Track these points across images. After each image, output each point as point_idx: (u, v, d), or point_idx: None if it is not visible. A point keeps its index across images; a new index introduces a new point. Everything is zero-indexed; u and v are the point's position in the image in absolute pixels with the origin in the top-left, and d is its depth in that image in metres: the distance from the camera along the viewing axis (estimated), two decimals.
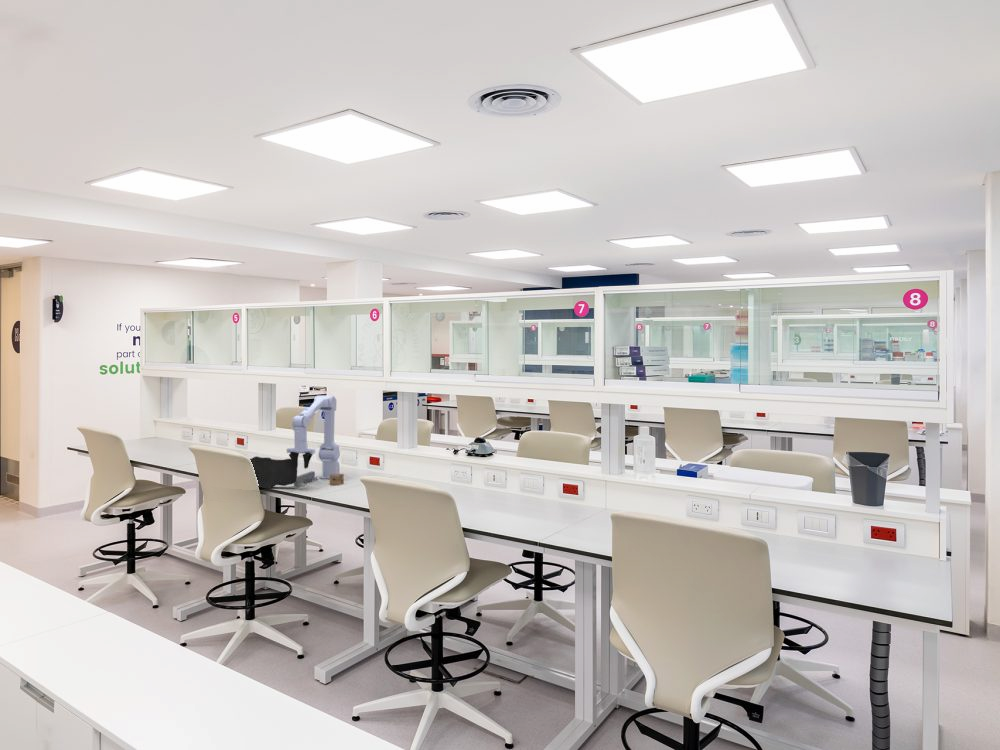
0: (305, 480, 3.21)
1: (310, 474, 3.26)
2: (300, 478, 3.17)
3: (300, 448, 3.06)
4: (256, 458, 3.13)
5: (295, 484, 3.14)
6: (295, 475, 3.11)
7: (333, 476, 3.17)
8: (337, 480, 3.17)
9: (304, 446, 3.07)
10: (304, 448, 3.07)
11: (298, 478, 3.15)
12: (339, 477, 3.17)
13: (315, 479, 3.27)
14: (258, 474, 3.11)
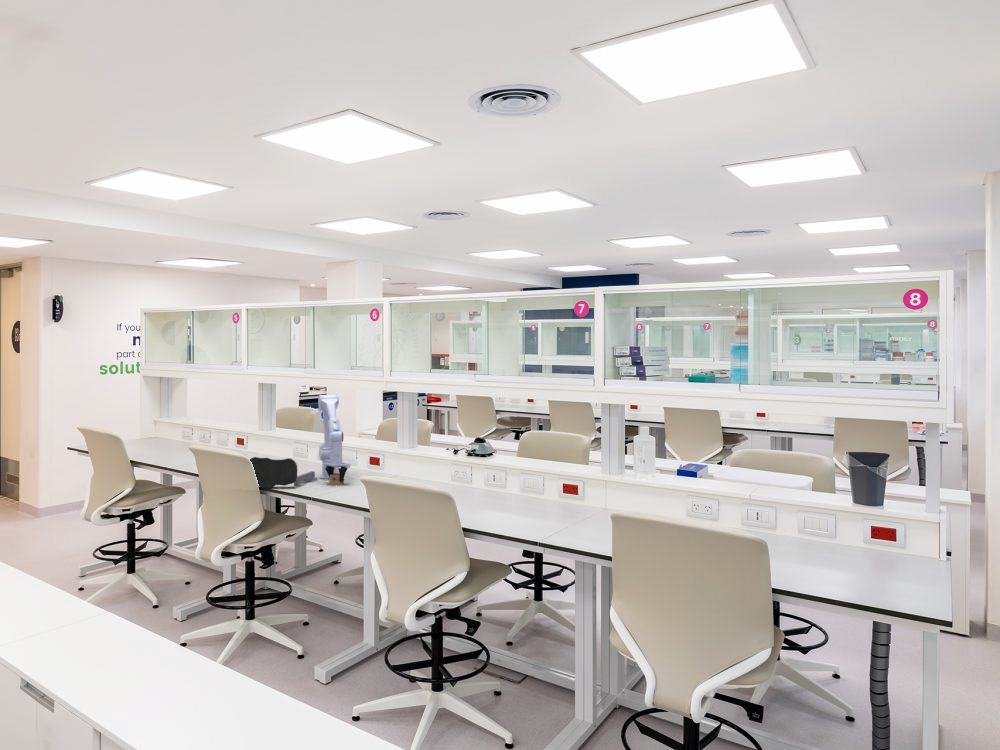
0: (305, 480, 3.21)
1: (310, 474, 3.26)
2: (300, 478, 3.17)
3: (336, 462, 3.17)
4: (255, 458, 3.12)
5: (295, 484, 3.14)
6: (295, 474, 3.12)
7: (333, 476, 3.17)
8: (337, 480, 3.17)
9: (340, 460, 3.18)
10: (340, 462, 3.18)
11: (298, 478, 3.15)
12: (339, 477, 3.17)
13: (315, 479, 3.27)
14: (257, 474, 3.10)
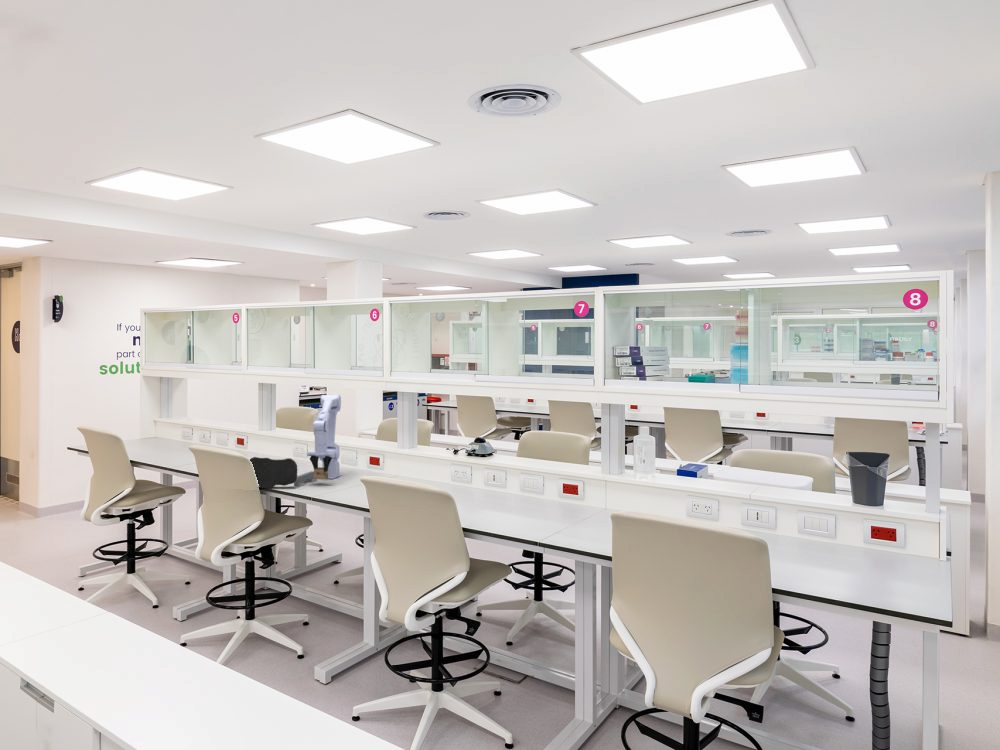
0: (305, 480, 3.21)
1: (310, 474, 3.26)
2: (300, 478, 3.17)
3: (320, 452, 3.15)
4: (255, 458, 3.12)
5: (295, 484, 3.14)
6: (295, 474, 3.12)
7: (317, 470, 3.16)
8: (321, 474, 3.15)
9: (324, 450, 3.16)
10: (324, 452, 3.16)
11: (298, 478, 3.15)
12: (323, 471, 3.16)
13: (315, 479, 3.27)
14: (257, 475, 3.10)
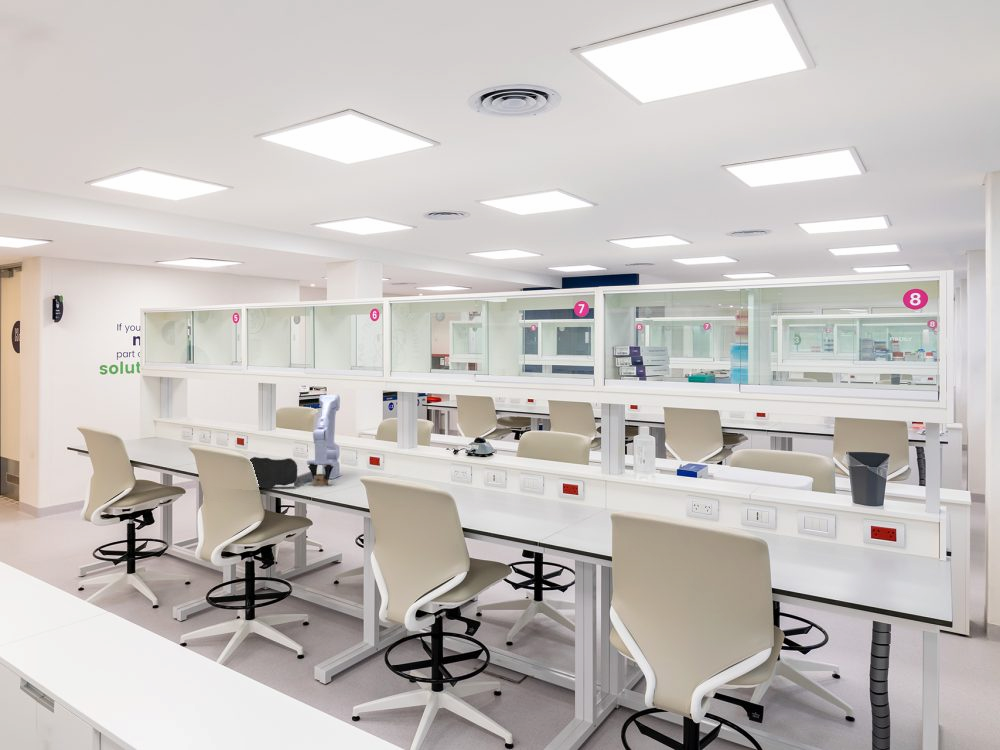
0: (305, 480, 3.21)
1: (310, 474, 3.26)
2: (300, 478, 3.17)
3: (320, 460, 3.15)
4: (255, 458, 3.12)
5: (295, 484, 3.14)
6: (295, 474, 3.12)
7: (317, 477, 3.16)
8: (321, 481, 3.15)
9: (324, 458, 3.17)
10: (324, 460, 3.17)
11: (298, 478, 3.15)
12: (323, 478, 3.16)
13: None
14: (257, 475, 3.10)
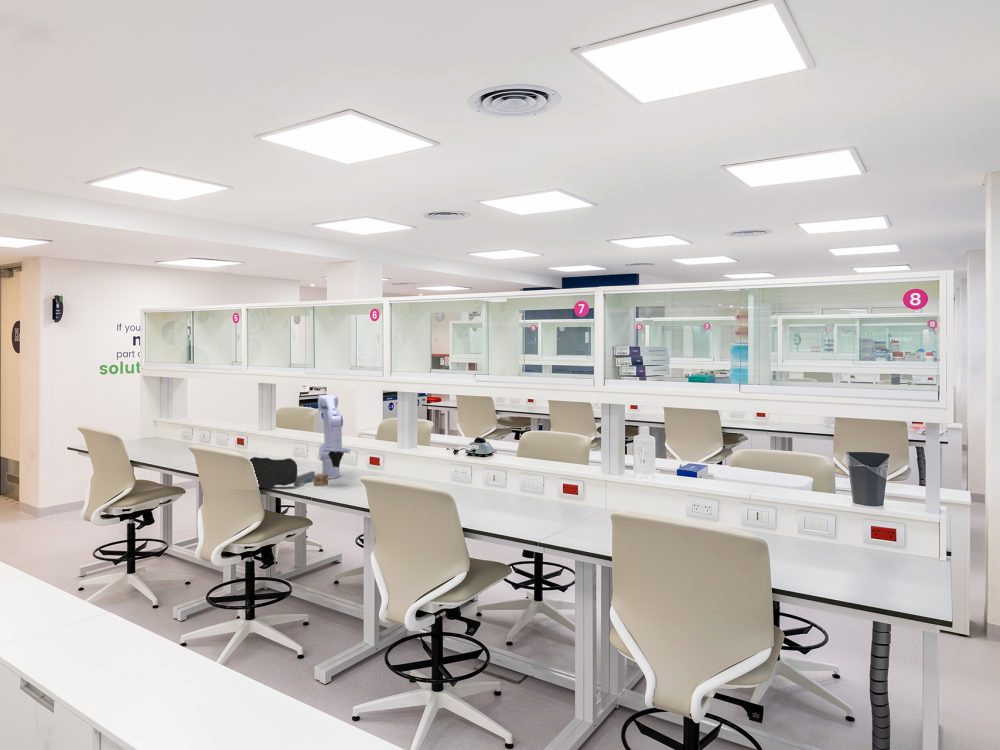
0: (305, 480, 3.21)
1: (310, 474, 3.26)
2: (300, 478, 3.17)
3: (336, 447, 3.13)
4: (255, 458, 3.12)
5: (295, 484, 3.14)
6: (295, 474, 3.12)
7: (317, 477, 3.16)
8: (321, 481, 3.15)
9: (339, 445, 3.14)
10: (339, 447, 3.14)
11: (298, 478, 3.15)
12: (323, 478, 3.16)
13: None
14: (257, 474, 3.10)
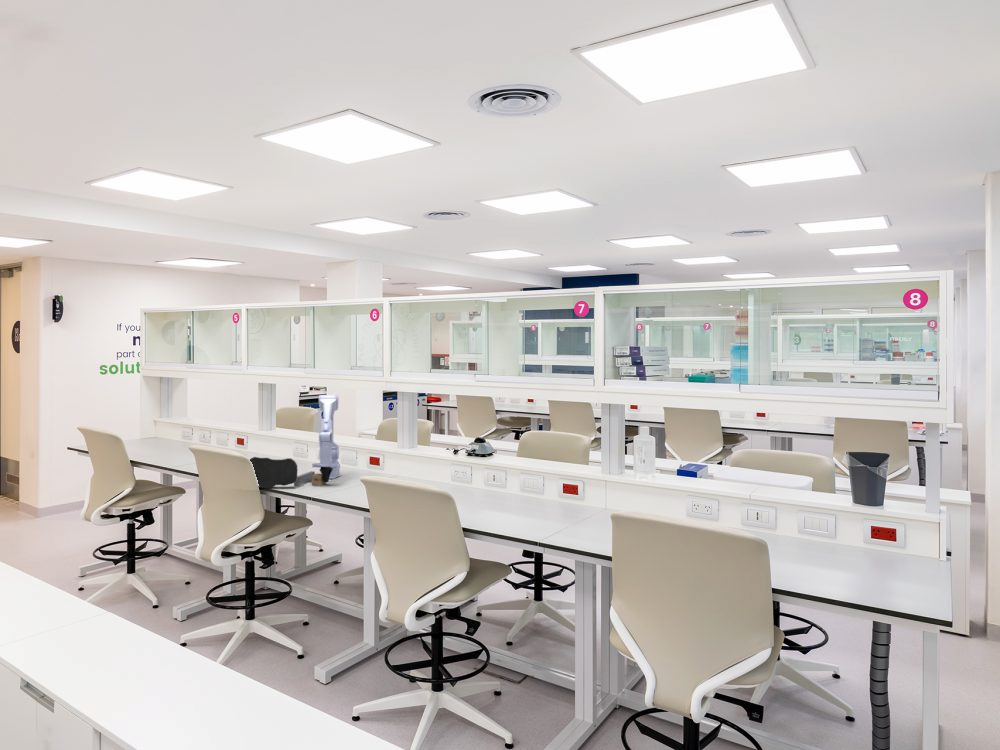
0: (305, 480, 3.21)
1: (310, 474, 3.26)
2: (300, 478, 3.17)
3: (326, 463, 3.15)
4: (255, 458, 3.12)
5: (295, 484, 3.14)
6: (295, 474, 3.12)
7: (315, 476, 3.16)
8: (319, 480, 3.16)
9: (329, 461, 3.16)
10: (329, 463, 3.16)
11: (298, 478, 3.15)
12: (321, 477, 3.16)
13: None
14: (257, 474, 3.10)
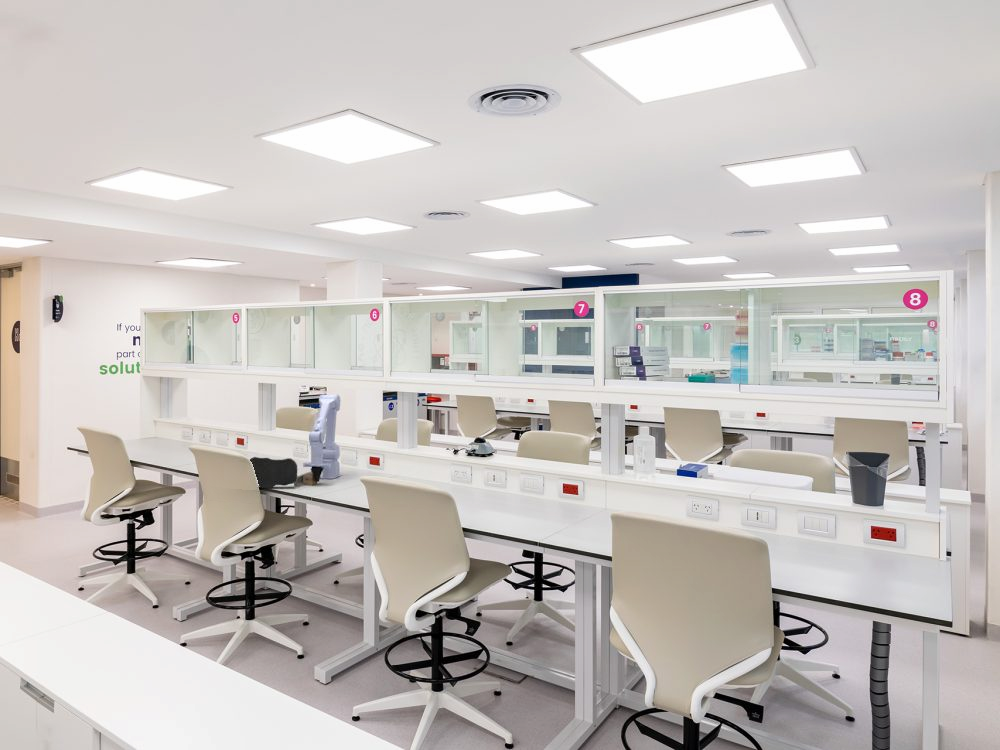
0: None
1: None
2: (300, 478, 3.17)
3: (317, 462, 3.16)
4: (255, 458, 3.12)
5: (295, 484, 3.14)
6: (295, 474, 3.12)
7: (306, 476, 3.17)
8: (310, 480, 3.17)
9: (320, 460, 3.17)
10: (320, 462, 3.17)
11: (298, 478, 3.15)
12: (312, 477, 3.18)
13: None
14: (257, 475, 3.10)
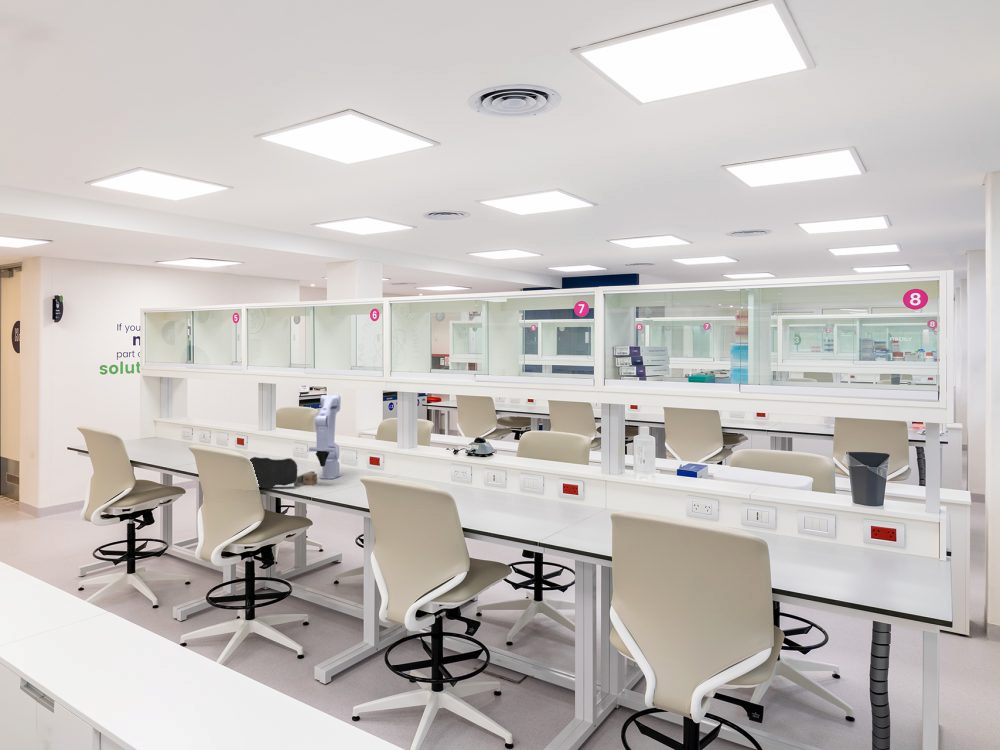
0: None
1: None
2: (300, 478, 3.17)
3: (322, 447, 3.15)
4: (255, 458, 3.12)
5: (295, 484, 3.14)
6: (295, 474, 3.12)
7: (306, 476, 3.18)
8: (310, 480, 3.17)
9: (326, 445, 3.16)
10: (326, 447, 3.16)
11: (298, 478, 3.15)
12: (312, 477, 3.18)
13: None
14: (257, 475, 3.10)
